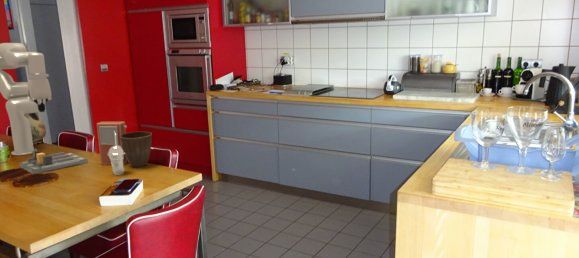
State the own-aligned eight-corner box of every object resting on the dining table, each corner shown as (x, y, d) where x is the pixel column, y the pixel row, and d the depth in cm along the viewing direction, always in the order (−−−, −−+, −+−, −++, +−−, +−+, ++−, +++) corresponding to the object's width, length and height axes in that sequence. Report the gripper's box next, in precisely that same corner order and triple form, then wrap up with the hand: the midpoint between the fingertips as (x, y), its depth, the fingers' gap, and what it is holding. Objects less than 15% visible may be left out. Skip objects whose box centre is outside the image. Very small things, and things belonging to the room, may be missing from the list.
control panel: (104, 161, 231) (131, 161, 229) (97, 164, 224) (125, 165, 223) (100, 121, 227) (127, 121, 225) (93, 123, 220) (121, 123, 218)
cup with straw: (106, 176, 205) (101, 134, 201) (114, 170, 214) (110, 130, 210) (123, 176, 204) (119, 134, 200) (131, 170, 213) (127, 130, 209)
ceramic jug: (13, 145, 270) (6, 97, 264) (34, 140, 284) (27, 94, 278) (34, 147, 265) (28, 98, 259) (55, 141, 279) (49, 94, 273)
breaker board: (19, 166, 224) (17, 153, 222) (71, 156, 242) (70, 143, 241) (33, 174, 209) (31, 160, 208) (88, 162, 228) (86, 150, 226)
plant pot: (144, 170, 213) (142, 138, 210) (117, 169, 216) (114, 137, 213) (159, 162, 227) (157, 132, 224) (133, 160, 230) (130, 131, 227)
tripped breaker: (34, 163, 221) (33, 154, 220) (45, 161, 225) (44, 152, 224) (37, 164, 218) (36, 155, 217) (48, 162, 222) (47, 153, 221)
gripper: (50, 75, 235) (54, 109, 239) (19, 77, 224) (23, 112, 228) (55, 76, 230) (59, 110, 234) (24, 78, 219) (28, 114, 223)
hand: (41, 111), depth 231 cm, fingers closed
